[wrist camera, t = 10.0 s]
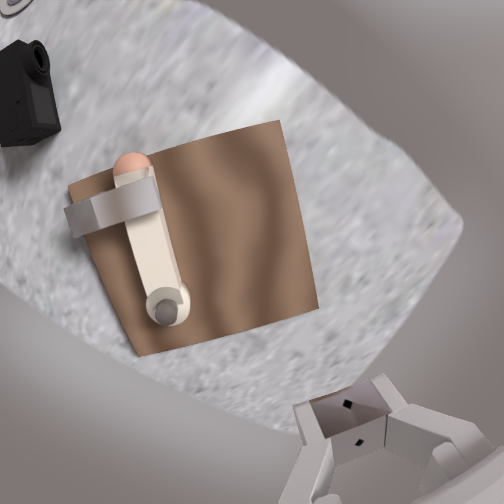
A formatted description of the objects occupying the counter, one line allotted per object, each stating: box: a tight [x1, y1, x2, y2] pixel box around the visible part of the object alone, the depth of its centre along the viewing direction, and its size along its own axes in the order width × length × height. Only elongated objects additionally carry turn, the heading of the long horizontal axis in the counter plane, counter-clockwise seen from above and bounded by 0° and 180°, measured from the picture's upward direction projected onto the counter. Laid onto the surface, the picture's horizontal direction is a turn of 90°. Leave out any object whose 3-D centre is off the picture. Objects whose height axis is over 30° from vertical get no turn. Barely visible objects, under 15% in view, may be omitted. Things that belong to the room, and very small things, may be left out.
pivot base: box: [64, 120, 319, 357], centre depth 32 cm, size 23×22×6 cm
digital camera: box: [0, 40, 61, 147], centre depth 23 cm, size 10×5×7 cm, turn 15°
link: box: [113, 153, 191, 326], centre depth 31 cm, size 18×5×2 cm, turn 10°
